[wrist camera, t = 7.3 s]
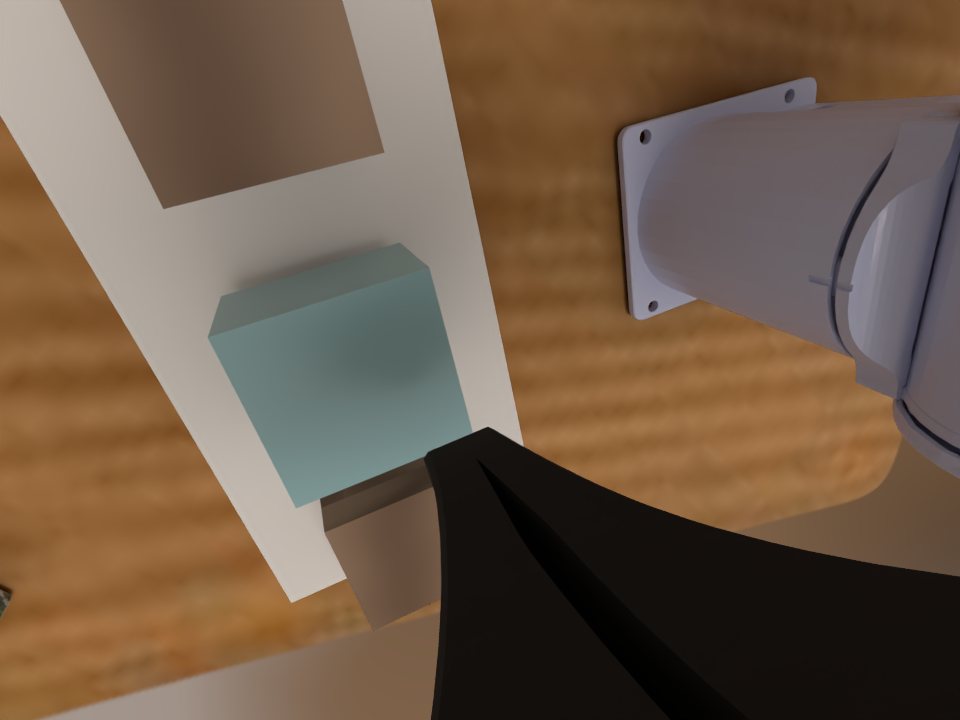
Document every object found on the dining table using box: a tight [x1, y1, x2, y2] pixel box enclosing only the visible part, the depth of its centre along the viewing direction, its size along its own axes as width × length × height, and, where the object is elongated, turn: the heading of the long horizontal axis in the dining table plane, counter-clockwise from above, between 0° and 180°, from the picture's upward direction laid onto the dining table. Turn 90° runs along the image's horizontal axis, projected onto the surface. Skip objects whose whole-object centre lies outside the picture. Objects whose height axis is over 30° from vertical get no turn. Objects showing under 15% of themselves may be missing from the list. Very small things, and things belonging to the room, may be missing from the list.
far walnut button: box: [320, 456, 441, 631], centre depth 19 cm, size 5×5×3 cm
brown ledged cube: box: [60, 0, 385, 209], centre depth 12 cm, size 5×5×3 cm
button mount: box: [0, 0, 524, 603], centre depth 16 cm, size 11×21×4 cm, turn 10°
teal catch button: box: [208, 243, 473, 508], centre depth 14 cm, size 5×5×3 cm
